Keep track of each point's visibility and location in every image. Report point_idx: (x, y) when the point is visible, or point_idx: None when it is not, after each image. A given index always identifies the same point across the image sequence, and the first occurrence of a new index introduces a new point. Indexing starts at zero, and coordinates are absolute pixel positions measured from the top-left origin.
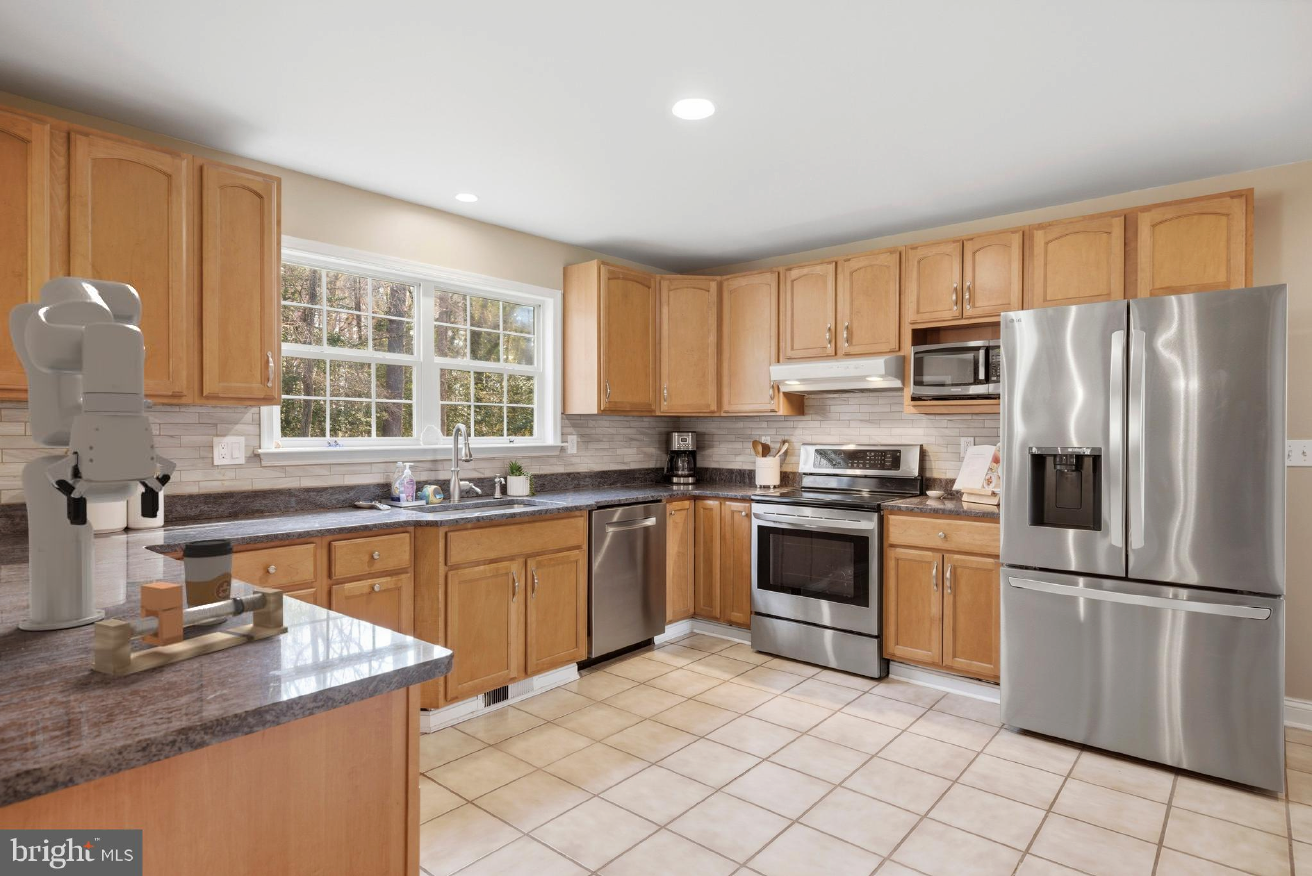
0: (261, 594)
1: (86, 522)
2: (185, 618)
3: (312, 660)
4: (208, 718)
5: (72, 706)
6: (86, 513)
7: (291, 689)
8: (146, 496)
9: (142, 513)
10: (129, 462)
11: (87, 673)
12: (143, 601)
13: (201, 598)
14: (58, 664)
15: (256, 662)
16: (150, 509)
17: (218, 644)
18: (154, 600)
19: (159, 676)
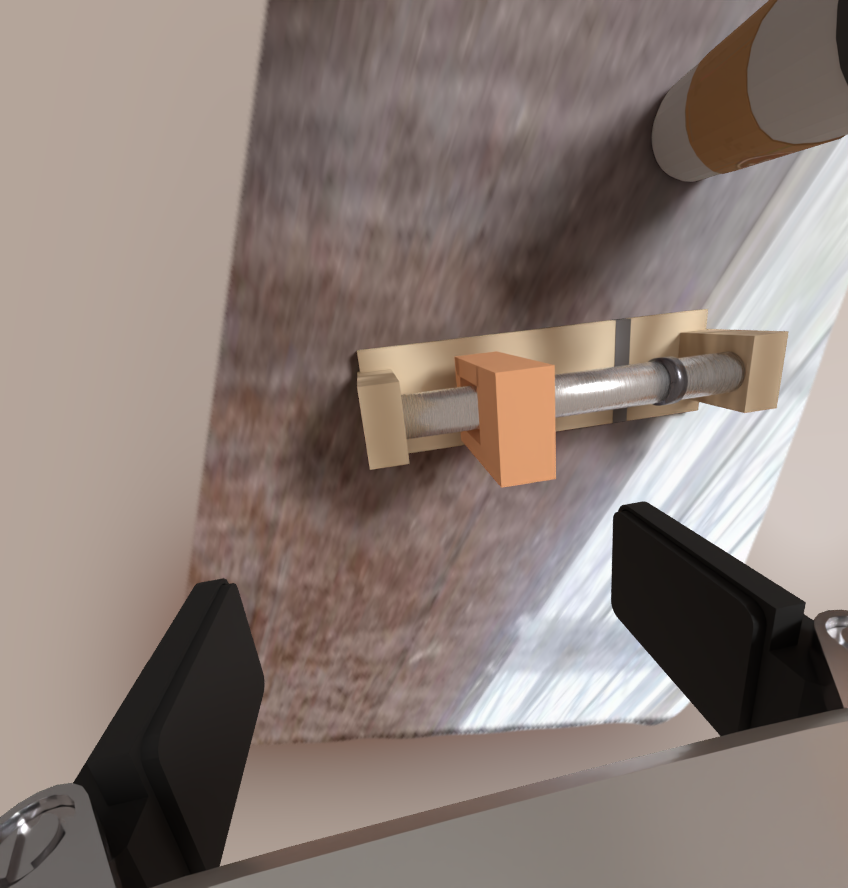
0: (738, 382)
1: (261, 692)
2: None
3: (586, 609)
4: (376, 727)
5: (271, 558)
6: (247, 747)
7: (490, 701)
8: (718, 664)
9: (626, 534)
10: None
11: (342, 379)
12: (481, 381)
13: (710, 143)
14: (323, 244)
15: (539, 555)
16: (641, 634)
17: (558, 426)
18: (487, 437)
19: (414, 508)
